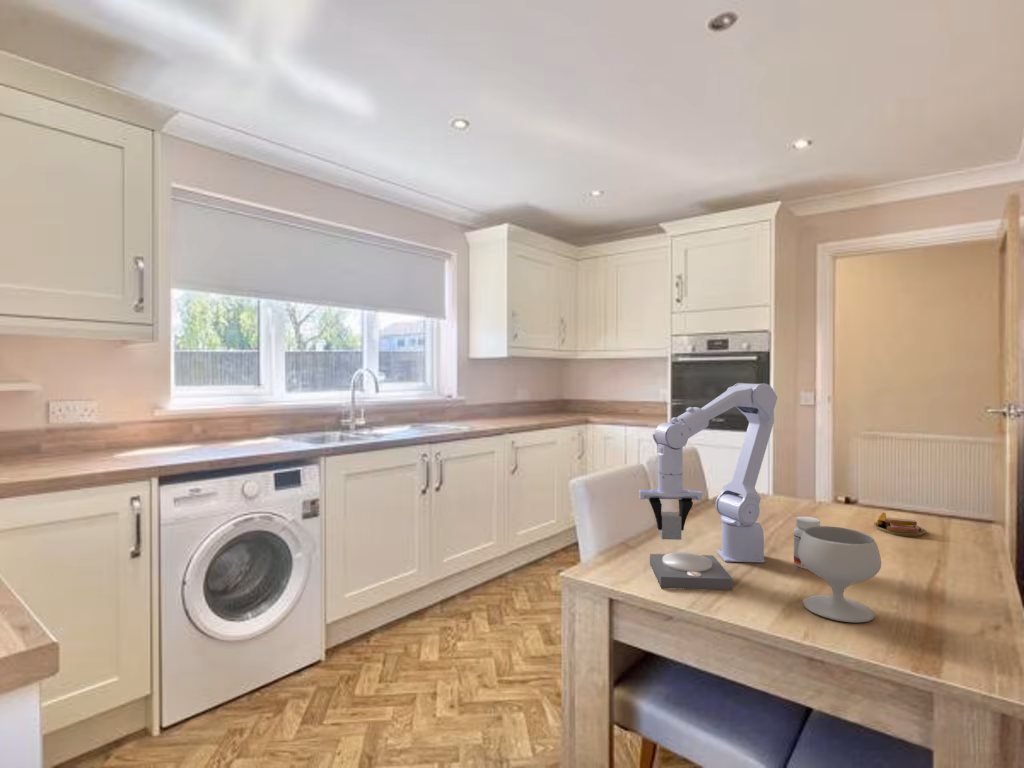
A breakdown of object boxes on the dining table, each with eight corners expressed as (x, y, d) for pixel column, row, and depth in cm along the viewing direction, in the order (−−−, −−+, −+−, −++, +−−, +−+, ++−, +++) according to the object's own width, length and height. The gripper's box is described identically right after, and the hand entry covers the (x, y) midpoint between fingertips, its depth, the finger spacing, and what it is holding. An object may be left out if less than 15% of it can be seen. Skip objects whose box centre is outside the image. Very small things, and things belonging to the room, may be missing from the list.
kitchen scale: (713, 565, 133) (713, 552, 133) (732, 590, 118) (732, 575, 118) (649, 564, 134) (649, 550, 134) (660, 588, 120) (660, 573, 119)
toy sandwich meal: (928, 530, 161) (928, 514, 161) (922, 541, 152) (922, 524, 151) (878, 522, 170) (878, 507, 170) (868, 532, 160) (869, 516, 160)
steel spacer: (677, 534, 136) (677, 511, 135) (681, 539, 131) (681, 516, 131) (658, 533, 136) (658, 511, 136) (662, 539, 131) (662, 516, 131)
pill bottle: (827, 567, 132) (828, 520, 131) (813, 572, 128) (814, 524, 128) (802, 559, 137) (802, 514, 137) (788, 564, 133) (788, 518, 133)
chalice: (785, 595, 115) (785, 524, 115) (853, 596, 115) (853, 524, 115) (820, 626, 101) (820, 545, 101) (898, 627, 101) (898, 546, 101)
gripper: (697, 470, 136) (697, 525, 136) (637, 469, 138) (637, 523, 138) (704, 475, 129) (704, 533, 129) (641, 475, 131) (641, 532, 131)
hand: (670, 529), depth 133 cm, fingers closed on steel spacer, 4 cm apart
